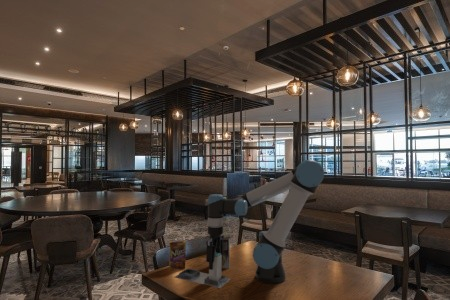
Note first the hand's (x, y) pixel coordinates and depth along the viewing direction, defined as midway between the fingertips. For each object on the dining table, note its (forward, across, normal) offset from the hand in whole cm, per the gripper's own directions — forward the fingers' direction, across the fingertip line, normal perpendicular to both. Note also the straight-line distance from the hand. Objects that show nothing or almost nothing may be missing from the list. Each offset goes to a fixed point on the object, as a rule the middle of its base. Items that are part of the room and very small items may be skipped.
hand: (215, 273), depth 138 cm
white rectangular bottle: (+3, 0, 0) cm, 3 cm away
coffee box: (+4, -19, -6) cm, 21 cm away
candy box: (+4, -5, -26) cm, 27 cm away
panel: (+4, 0, -8) cm, 9 cm away
